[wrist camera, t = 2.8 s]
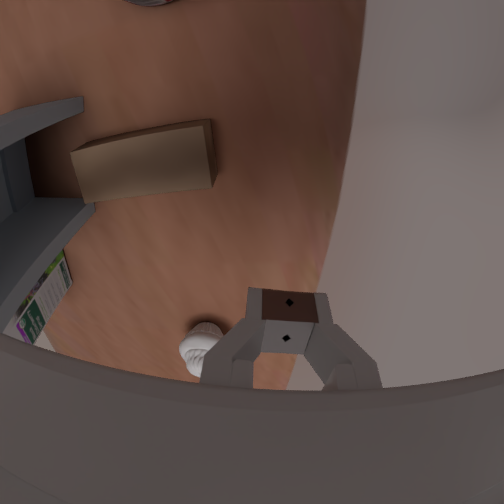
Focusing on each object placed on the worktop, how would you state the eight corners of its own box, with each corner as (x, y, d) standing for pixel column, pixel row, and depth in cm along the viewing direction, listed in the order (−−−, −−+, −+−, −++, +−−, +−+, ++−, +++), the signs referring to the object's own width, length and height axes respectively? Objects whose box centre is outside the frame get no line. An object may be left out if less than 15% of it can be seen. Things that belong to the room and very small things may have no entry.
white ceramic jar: (183, 339, 39) (173, 382, 33) (185, 309, 35) (173, 356, 29) (228, 347, 39) (223, 392, 33) (236, 318, 36) (231, 366, 30)
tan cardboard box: (89, 141, 24) (69, 152, 21) (210, 117, 23) (202, 125, 20) (101, 188, 26) (84, 203, 24) (218, 172, 26) (212, 188, 23)
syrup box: (74, 283, 34) (23, 372, 22) (42, 277, 34) (-10, 356, 22) (63, 247, 31) (-1, 337, 19) (30, 243, 30) (-33, 322, 18)
